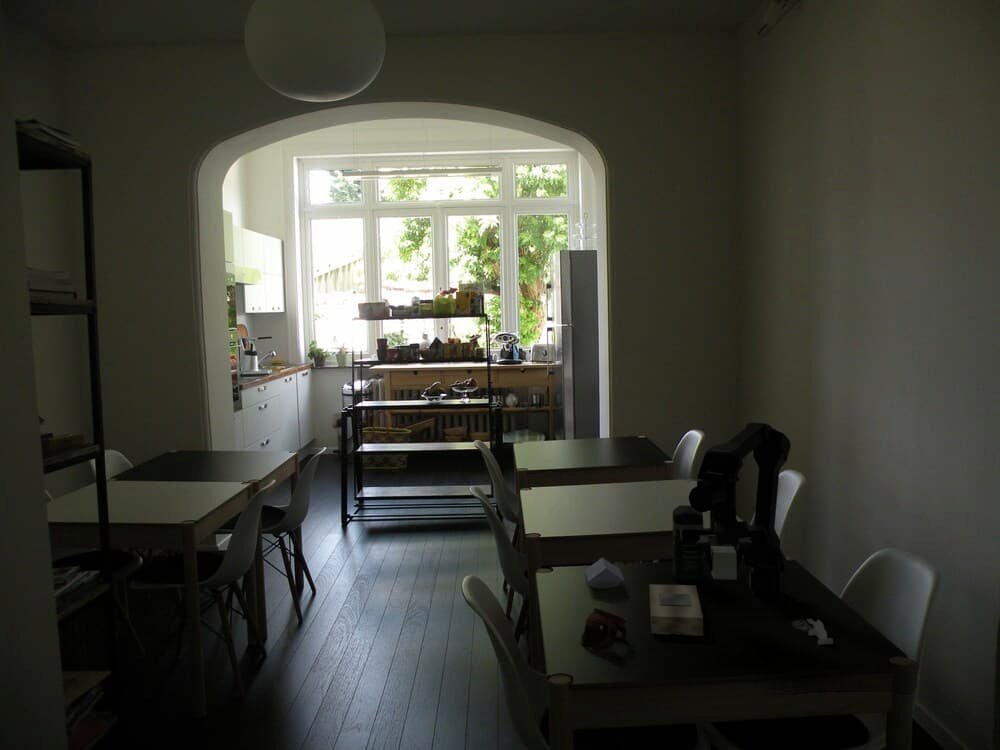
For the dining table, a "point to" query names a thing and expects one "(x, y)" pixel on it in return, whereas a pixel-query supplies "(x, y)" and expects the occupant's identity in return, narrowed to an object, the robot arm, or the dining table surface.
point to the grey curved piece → (813, 630)
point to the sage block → (724, 562)
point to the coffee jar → (687, 546)
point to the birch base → (675, 610)
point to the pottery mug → (607, 634)
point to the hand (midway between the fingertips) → (723, 571)
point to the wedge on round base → (603, 575)
